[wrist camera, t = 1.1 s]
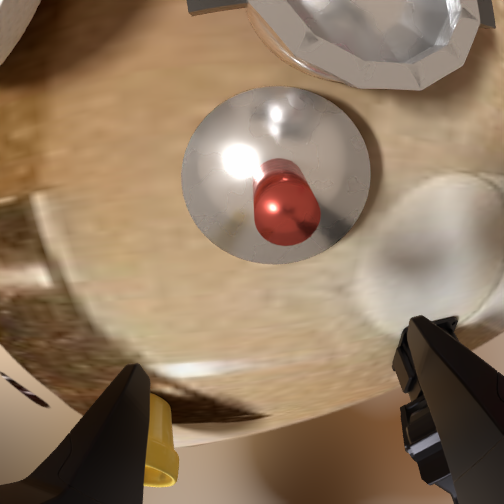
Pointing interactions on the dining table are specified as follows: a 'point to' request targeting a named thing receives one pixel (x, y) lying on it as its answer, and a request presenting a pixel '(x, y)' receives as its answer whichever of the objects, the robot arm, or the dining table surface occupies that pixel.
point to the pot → (365, 37)
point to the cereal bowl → (14, 23)
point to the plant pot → (160, 446)
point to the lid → (275, 175)
